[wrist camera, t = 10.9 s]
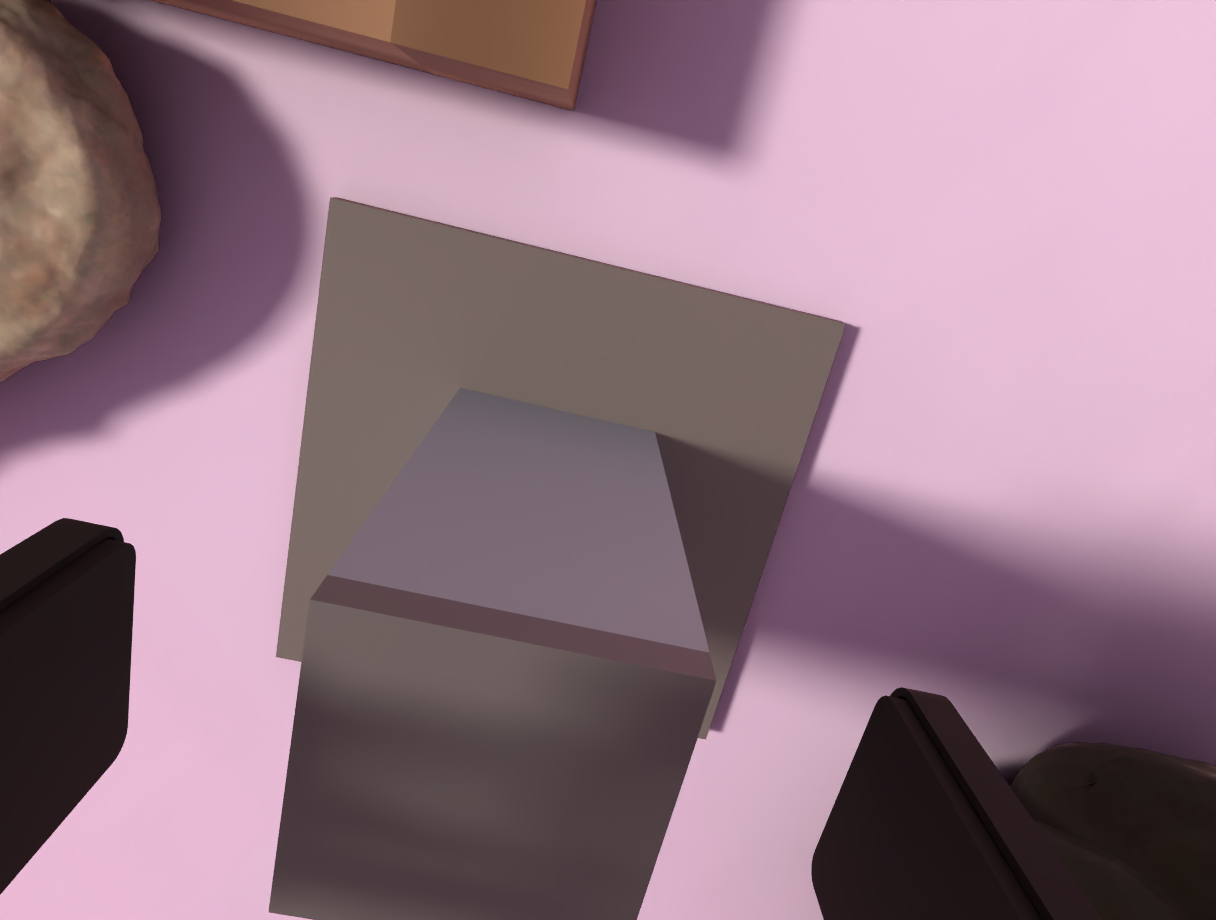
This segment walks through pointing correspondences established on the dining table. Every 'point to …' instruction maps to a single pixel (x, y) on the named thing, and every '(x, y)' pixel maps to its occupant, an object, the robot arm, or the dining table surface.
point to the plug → (497, 682)
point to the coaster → (550, 389)
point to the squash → (1128, 827)
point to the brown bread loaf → (65, 188)
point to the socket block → (440, 36)
